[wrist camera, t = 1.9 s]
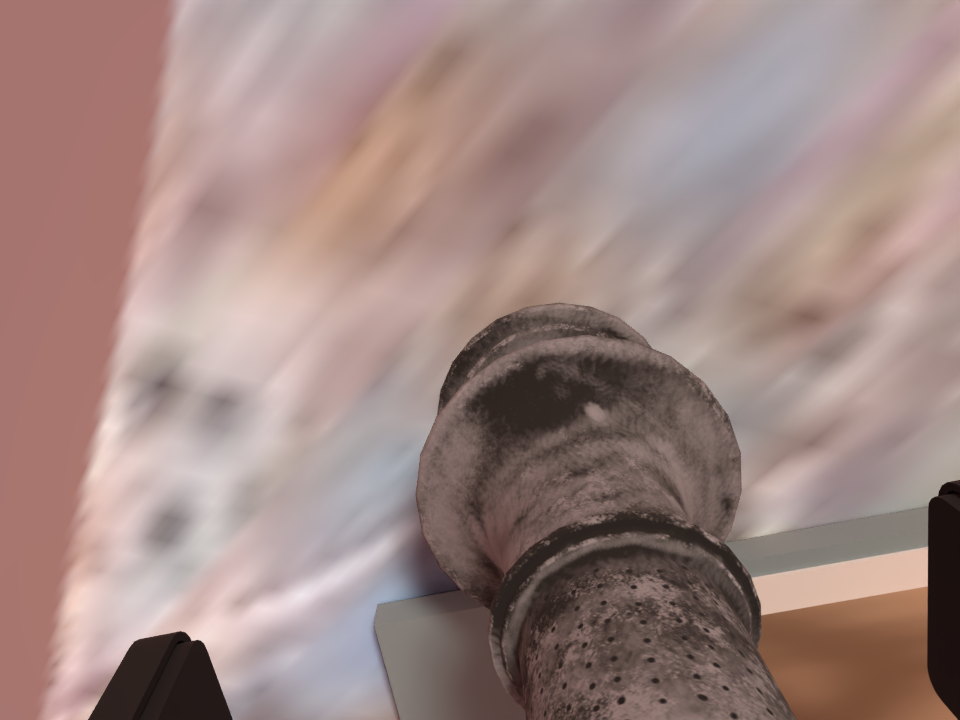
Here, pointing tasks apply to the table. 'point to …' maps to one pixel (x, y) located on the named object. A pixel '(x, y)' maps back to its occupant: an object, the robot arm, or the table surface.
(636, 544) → the dark grey chess piece
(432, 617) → the grey flat slab
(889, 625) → the walnut block
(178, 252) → the table surface
